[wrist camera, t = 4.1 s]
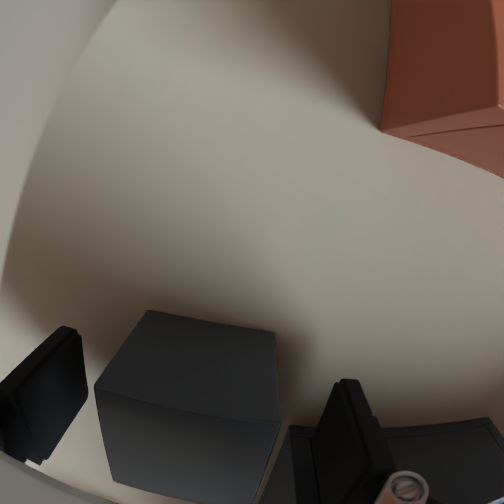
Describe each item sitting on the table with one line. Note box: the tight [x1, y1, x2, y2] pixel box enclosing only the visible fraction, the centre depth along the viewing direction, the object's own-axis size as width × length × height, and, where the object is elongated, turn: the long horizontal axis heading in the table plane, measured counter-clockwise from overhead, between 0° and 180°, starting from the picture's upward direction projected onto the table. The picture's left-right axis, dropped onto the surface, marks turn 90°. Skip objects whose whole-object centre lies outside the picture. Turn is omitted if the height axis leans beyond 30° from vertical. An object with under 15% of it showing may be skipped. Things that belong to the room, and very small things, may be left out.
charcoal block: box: [94, 310, 281, 504], centre depth 9 cm, size 4×4×4 cm
